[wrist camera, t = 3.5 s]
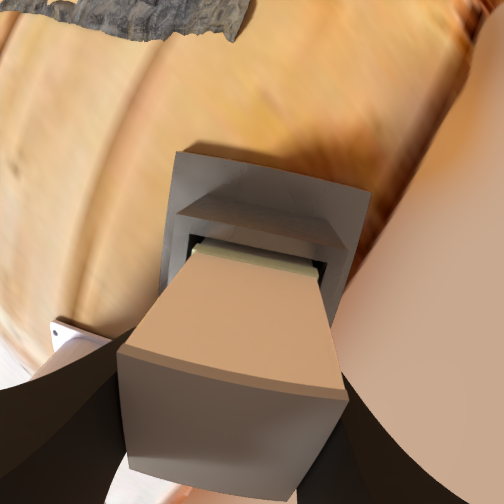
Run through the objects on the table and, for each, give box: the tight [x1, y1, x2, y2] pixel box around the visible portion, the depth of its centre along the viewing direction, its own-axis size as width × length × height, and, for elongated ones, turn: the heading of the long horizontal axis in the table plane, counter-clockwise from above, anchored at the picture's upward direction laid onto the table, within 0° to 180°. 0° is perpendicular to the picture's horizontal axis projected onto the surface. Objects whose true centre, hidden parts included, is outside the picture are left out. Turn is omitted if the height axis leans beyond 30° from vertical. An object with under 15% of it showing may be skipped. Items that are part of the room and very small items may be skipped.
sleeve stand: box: [158, 151, 371, 328], centre depth 15 cm, size 10×10×6 cm
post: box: [117, 237, 349, 502], centre depth 10 cm, size 4×4×8 cm
